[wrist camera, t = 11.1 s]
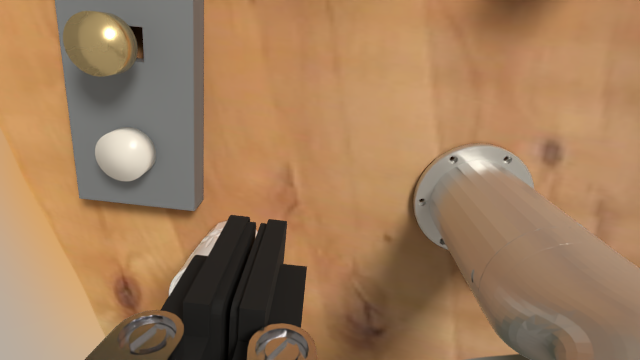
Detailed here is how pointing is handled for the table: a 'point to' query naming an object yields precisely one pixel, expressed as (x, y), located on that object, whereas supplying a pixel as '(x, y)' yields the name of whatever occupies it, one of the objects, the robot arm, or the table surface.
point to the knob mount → (143, 103)
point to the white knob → (125, 153)
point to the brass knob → (100, 43)
